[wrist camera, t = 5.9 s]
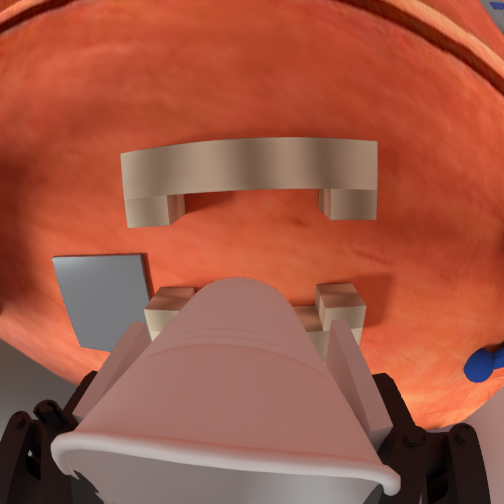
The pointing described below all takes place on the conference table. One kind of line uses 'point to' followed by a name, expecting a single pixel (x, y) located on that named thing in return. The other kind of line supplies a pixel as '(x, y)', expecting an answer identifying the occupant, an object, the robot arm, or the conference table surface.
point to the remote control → (495, 12)
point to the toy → (483, 364)
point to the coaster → (103, 296)
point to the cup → (226, 414)
